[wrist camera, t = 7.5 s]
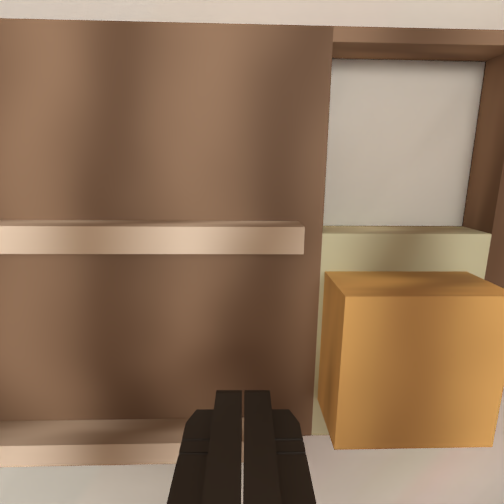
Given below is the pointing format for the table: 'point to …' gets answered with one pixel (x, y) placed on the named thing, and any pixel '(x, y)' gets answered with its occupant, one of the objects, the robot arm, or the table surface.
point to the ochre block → (411, 359)
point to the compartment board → (190, 223)
